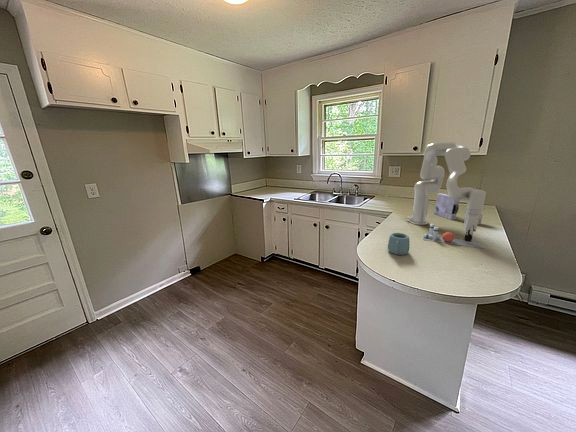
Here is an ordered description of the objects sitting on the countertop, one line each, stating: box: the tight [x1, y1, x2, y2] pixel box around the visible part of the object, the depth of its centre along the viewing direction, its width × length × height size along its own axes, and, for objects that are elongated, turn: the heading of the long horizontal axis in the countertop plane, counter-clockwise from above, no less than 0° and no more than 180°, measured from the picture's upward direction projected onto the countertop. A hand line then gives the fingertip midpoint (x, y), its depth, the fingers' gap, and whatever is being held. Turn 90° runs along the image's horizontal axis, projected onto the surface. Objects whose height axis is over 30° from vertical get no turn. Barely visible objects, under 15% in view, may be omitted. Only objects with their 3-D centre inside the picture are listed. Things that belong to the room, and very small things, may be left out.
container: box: [463, 213, 484, 226], centre depth 177 cm, size 8×8×13 cm
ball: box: [441, 231, 455, 242], centre depth 146 cm, size 6×6×6 cm
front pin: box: [423, 233, 441, 240], centre depth 152 cm, size 2×2×8 cm
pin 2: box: [432, 226, 439, 242], centre depth 148 cm, size 2×2×8 cm
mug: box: [387, 232, 410, 256], centre depth 132 cm, size 15×11×10 cm
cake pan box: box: [433, 192, 460, 221], centre depth 194 cm, size 19×5×18 cm, turn 9°
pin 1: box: [428, 223, 436, 235], centre depth 154 cm, size 2×2×8 cm
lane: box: [422, 236, 484, 249], centre depth 148 cm, size 30×10×1 cm, turn 60°
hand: (467, 241), depth 143 cm, fingers closed
